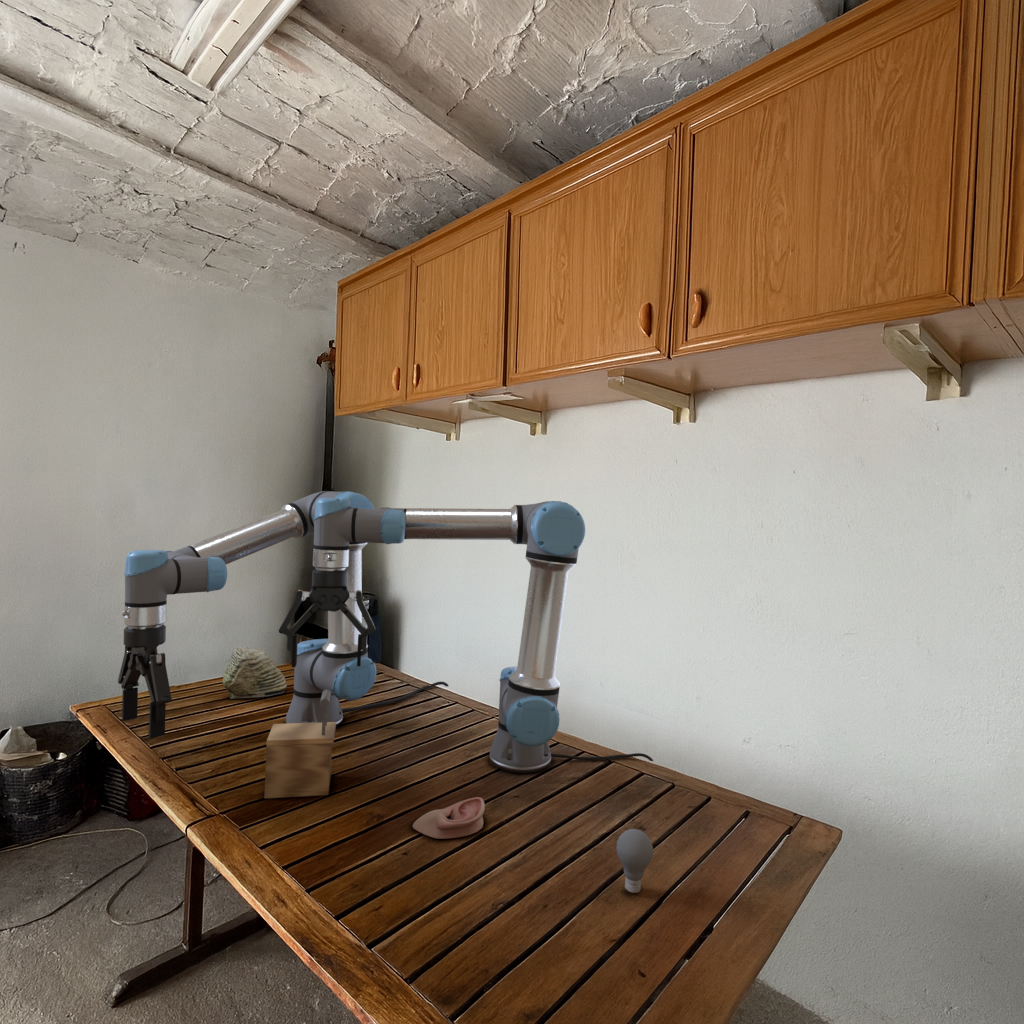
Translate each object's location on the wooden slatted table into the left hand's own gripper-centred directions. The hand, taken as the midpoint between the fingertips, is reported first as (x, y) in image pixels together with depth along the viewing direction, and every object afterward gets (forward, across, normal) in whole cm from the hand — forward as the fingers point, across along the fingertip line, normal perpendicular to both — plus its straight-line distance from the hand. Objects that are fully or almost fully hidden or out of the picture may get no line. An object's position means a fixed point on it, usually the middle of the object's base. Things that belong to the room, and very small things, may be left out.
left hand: (142, 727), depth 131 cm
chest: (+14, +20, +24) cm, 34 cm away
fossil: (+14, -45, +50) cm, 68 cm away
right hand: (-12, +22, +28) cm, 38 cm away
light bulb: (+15, +92, +41) cm, 102 cm away
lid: (+3, +20, +25) cm, 32 cm away
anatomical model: (+14, +55, +35) cm, 67 cm away
